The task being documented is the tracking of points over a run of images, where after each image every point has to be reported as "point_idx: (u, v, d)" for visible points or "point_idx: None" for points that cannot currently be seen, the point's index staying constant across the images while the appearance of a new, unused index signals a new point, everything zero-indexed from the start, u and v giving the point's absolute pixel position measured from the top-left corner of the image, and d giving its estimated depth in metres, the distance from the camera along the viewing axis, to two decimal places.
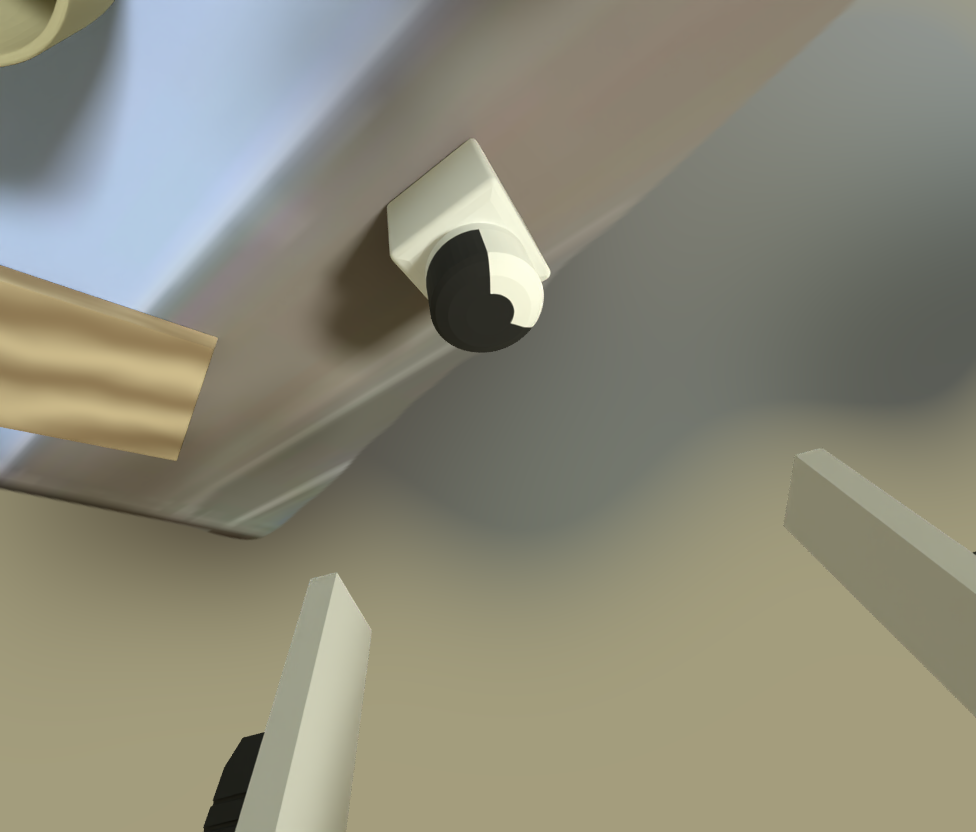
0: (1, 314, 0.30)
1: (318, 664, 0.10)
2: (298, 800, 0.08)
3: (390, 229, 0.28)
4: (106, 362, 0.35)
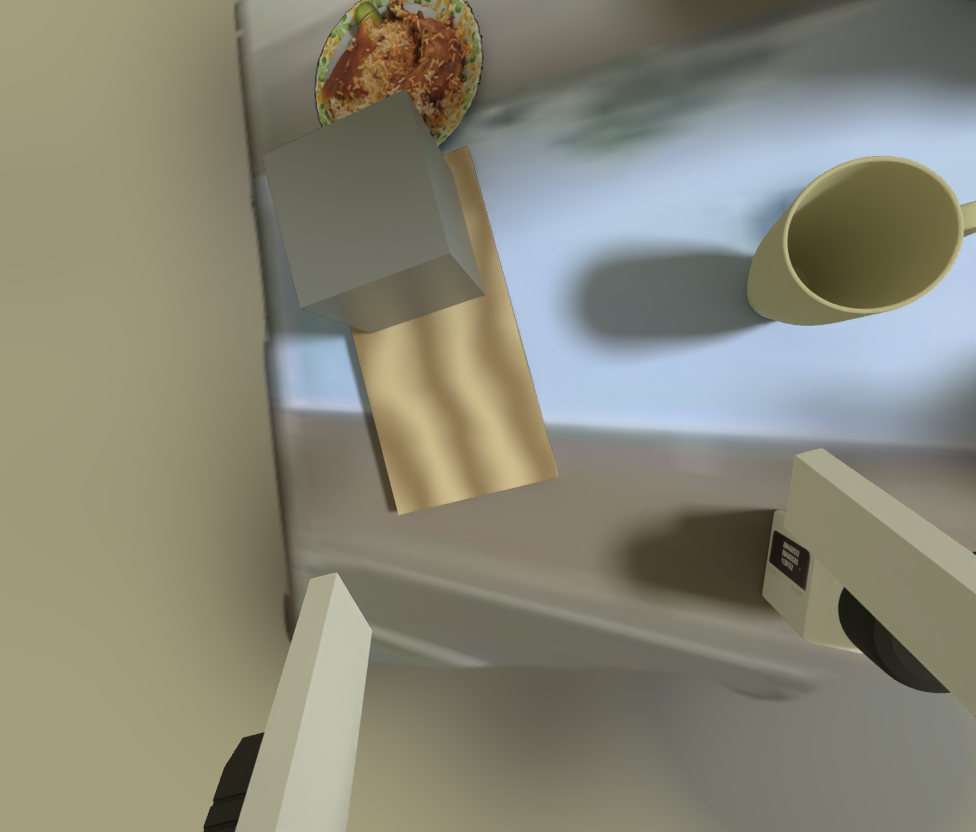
0: (490, 354, 0.40)
1: (318, 664, 0.10)
2: (298, 800, 0.08)
3: None
4: (488, 421, 0.41)
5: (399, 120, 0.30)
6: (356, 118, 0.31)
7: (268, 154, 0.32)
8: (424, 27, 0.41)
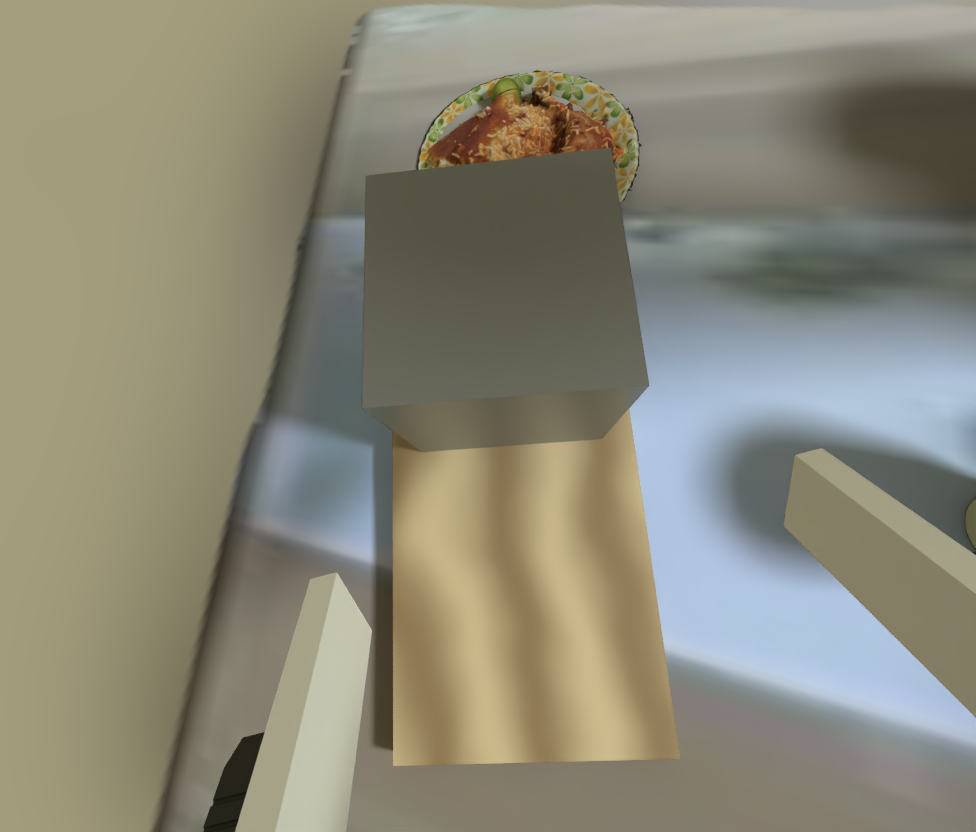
0: (596, 526, 0.27)
1: (318, 664, 0.10)
2: (298, 799, 0.08)
3: None
4: (577, 632, 0.26)
5: (594, 183, 0.20)
6: (527, 165, 0.21)
7: (377, 177, 0.21)
8: (575, 118, 0.35)
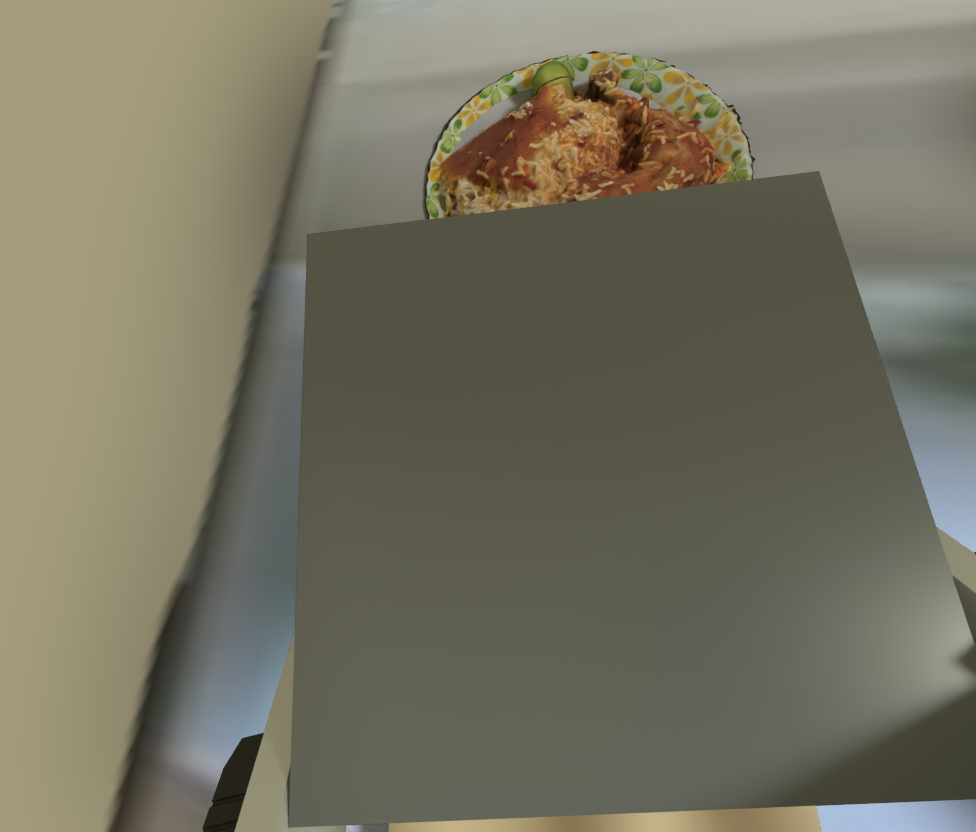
0: None
1: None
2: None
3: None
4: None
5: (793, 249, 0.09)
6: (642, 209, 0.10)
7: (330, 237, 0.10)
8: (656, 120, 0.24)
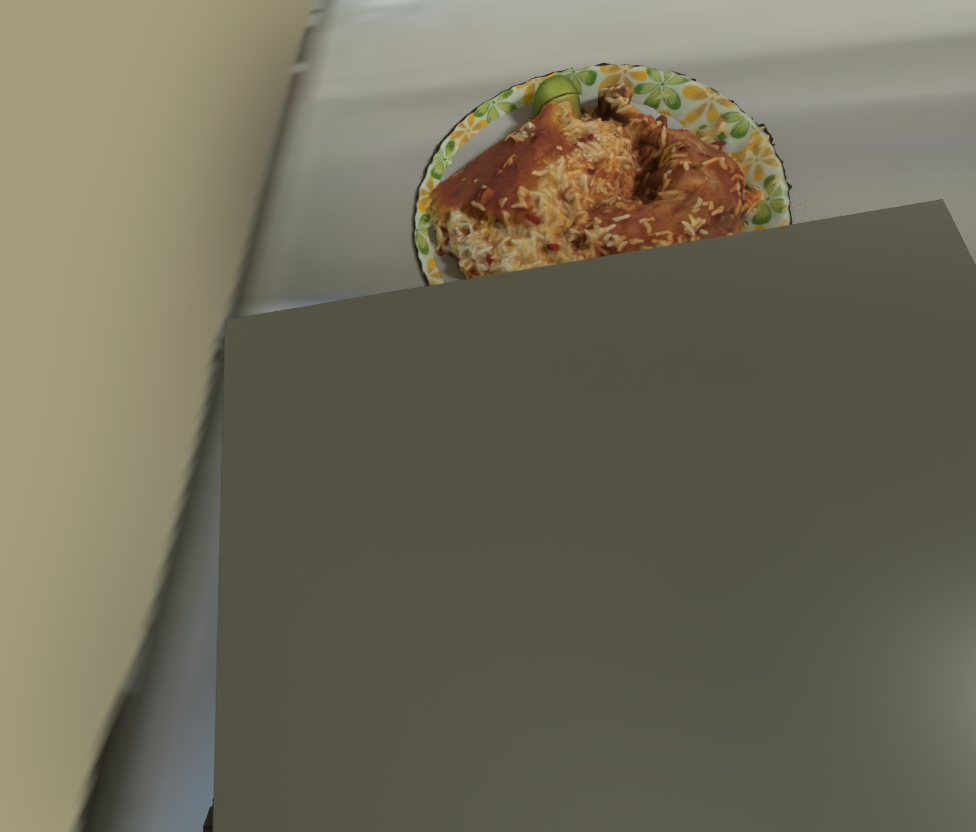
0: None
1: None
2: None
3: None
4: None
5: (924, 316, 0.07)
6: (697, 265, 0.07)
7: (257, 322, 0.07)
8: (677, 142, 0.21)
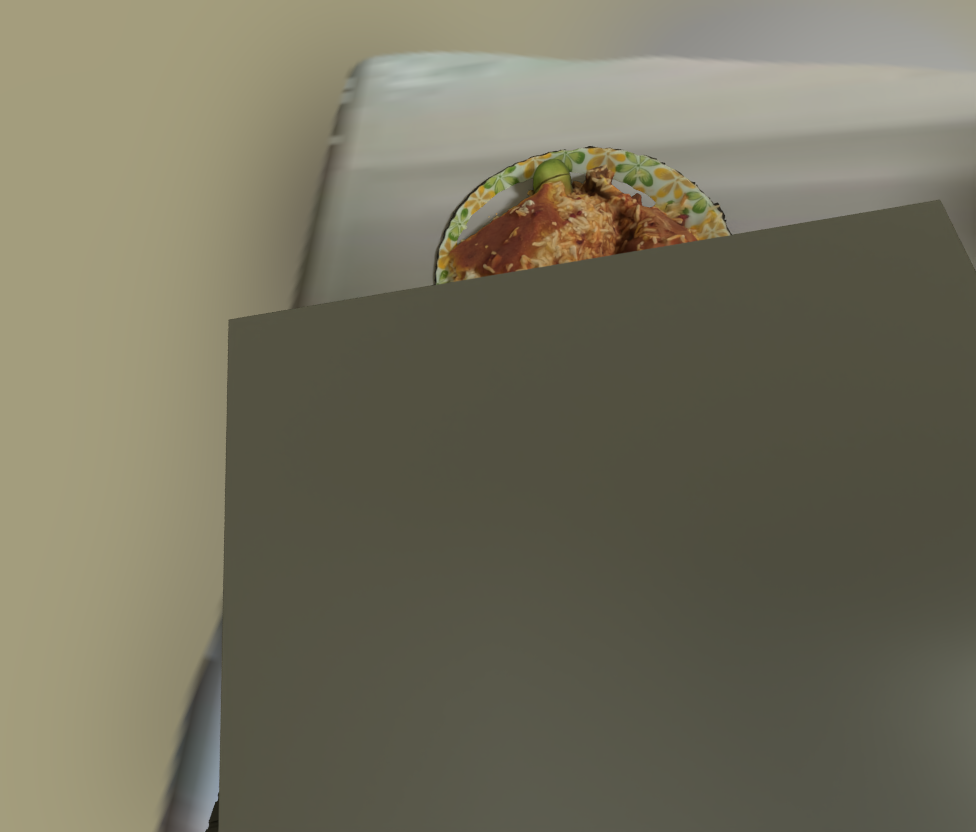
0: None
1: None
2: None
3: None
4: None
5: (921, 315, 0.07)
6: (696, 265, 0.07)
7: (260, 322, 0.07)
8: (648, 218, 0.26)
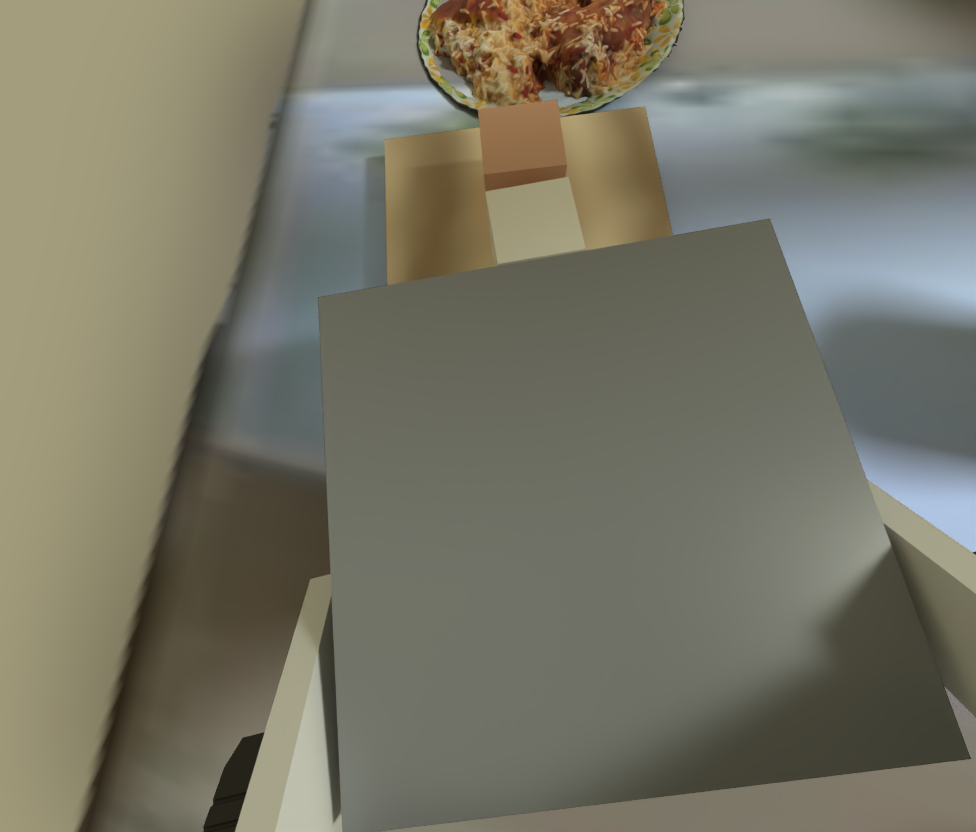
0: None
1: (318, 664, 0.10)
2: (298, 800, 0.08)
3: None
4: None
5: (751, 290, 0.11)
6: (617, 260, 0.11)
7: (339, 298, 0.12)
8: None
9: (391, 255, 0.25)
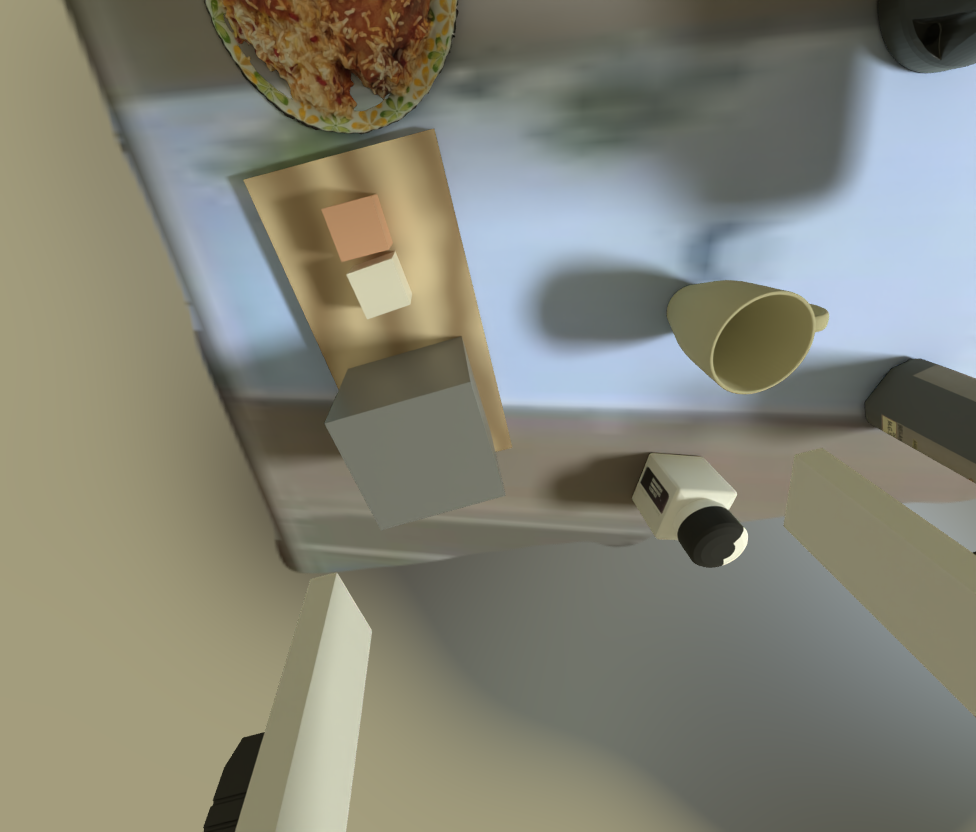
0: None
1: (318, 664, 0.10)
2: (298, 800, 0.08)
3: (668, 472, 0.51)
4: None
5: (464, 405, 0.35)
6: (423, 400, 0.34)
7: (332, 423, 0.34)
8: None
9: (292, 281, 0.39)
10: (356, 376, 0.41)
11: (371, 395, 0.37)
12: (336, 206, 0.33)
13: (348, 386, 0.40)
